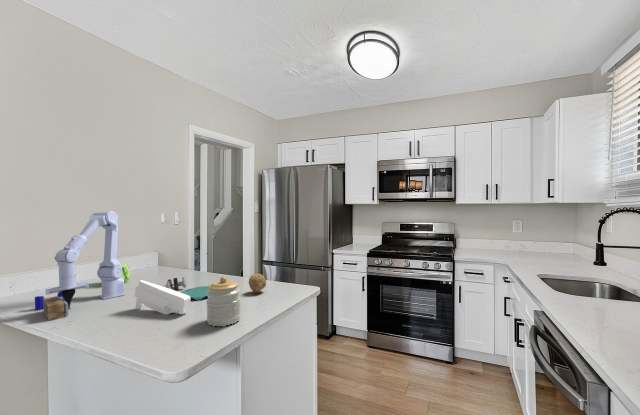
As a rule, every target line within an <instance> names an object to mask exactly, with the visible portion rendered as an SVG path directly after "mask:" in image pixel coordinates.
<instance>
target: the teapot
mask: <svg viewBox="0 0 640 415" xmlns="http://www.w3.org/2000/svg"><path fill="white" fill-rule="evenodd" d="M121 268H122V275H121V276H120V278H121V277H122V278H123V279H124V284H126V283H128V280H130V279H131V271H130V269H129V267H128V265H127V264H126V263H125V264H122V263H121Z"/></svg>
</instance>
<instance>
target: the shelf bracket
mask: <svg viewBox="0 0 640 415" xmlns="http://www.w3.org/2000/svg"><path fill="white" fill-rule="evenodd" d="M180 292H181V291H178V290H175V289H173V290H172V289H169V288H166V287H163V285H158V284H156V283H153V282H149V281H146V280H138V286H136V287H135V291H134V297H135V298H136V300H135V308H134V310H139V309H141V308H143V307H147V308H149V309H151V310H153V311H156V312H157V313H160V314H162V315H169V314H172V313H178V314H179V315H183V314H185V313H187V312H189V311H190V306H191V300H192V299H191V297H190V296H188V295H186V294H183V293H180Z"/></svg>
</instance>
